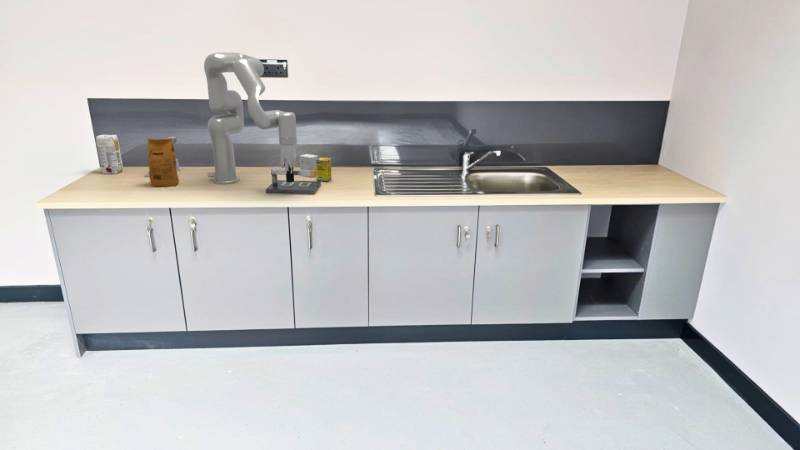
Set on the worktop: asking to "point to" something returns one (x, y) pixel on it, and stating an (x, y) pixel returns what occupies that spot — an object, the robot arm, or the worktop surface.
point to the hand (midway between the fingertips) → (290, 181)
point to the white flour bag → (109, 154)
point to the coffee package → (162, 162)
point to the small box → (308, 163)
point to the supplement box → (323, 169)
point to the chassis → (293, 187)
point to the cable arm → (296, 172)
